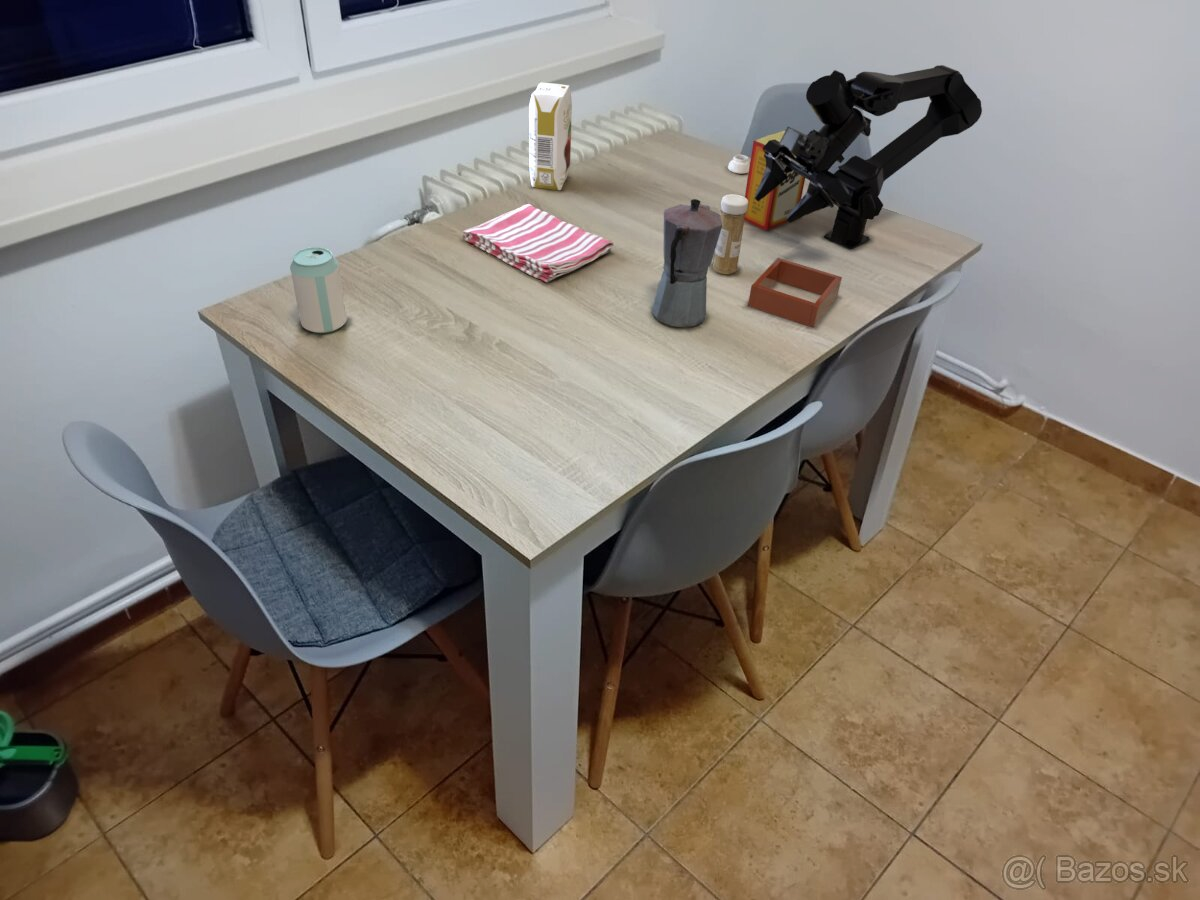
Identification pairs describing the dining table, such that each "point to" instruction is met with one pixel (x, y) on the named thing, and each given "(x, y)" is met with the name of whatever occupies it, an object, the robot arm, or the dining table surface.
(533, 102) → the juice carton
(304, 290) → the can
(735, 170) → the white jar
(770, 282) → the holder
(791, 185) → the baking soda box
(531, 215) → the dish towel
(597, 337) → the dining table surface
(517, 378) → the dining table surface
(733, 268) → the sprinkles bottle
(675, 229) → the moka pot
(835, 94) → the robot arm
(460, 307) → the dining table surface
